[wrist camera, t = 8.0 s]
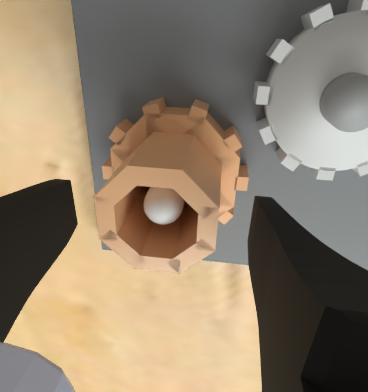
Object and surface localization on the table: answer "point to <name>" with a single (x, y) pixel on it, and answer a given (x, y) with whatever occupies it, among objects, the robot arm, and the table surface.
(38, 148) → the table surface
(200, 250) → the planet gear
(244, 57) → the carrier board
